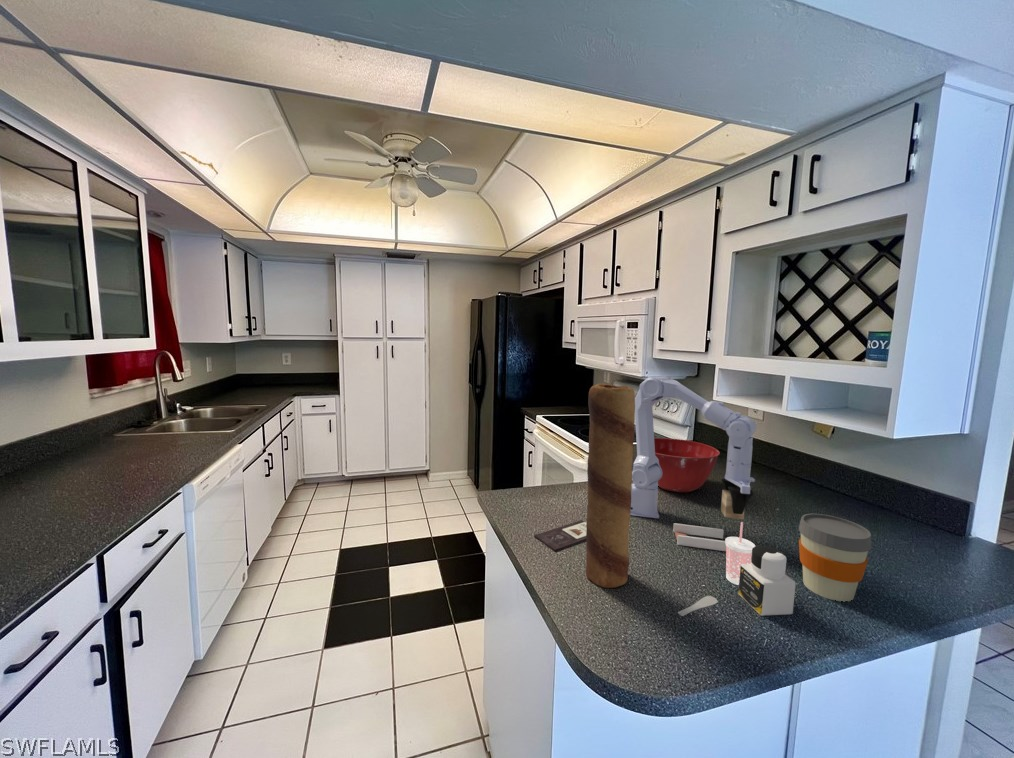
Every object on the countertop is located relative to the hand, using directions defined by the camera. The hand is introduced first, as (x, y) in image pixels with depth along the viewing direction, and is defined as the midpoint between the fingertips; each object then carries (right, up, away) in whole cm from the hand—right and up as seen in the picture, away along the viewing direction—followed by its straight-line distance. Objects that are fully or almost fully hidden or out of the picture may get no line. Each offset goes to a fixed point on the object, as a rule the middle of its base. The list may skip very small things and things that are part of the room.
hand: (734, 509), depth 109 cm
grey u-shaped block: (-9, -9, +1) cm, 13 cm away
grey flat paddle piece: (-28, -13, -29) cm, 42 cm away
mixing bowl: (+1, -5, +43) cm, 43 cm away
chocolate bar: (-45, -9, +3) cm, 46 cm away
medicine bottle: (-8, -12, -25) cm, 29 cm away
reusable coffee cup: (+10, -12, -19) cm, 25 cm away
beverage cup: (-9, -11, -16) cm, 22 cm away
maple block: (-1, -2, 0) cm, 2 cm away
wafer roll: (-40, -11, -16) cm, 44 cm away
